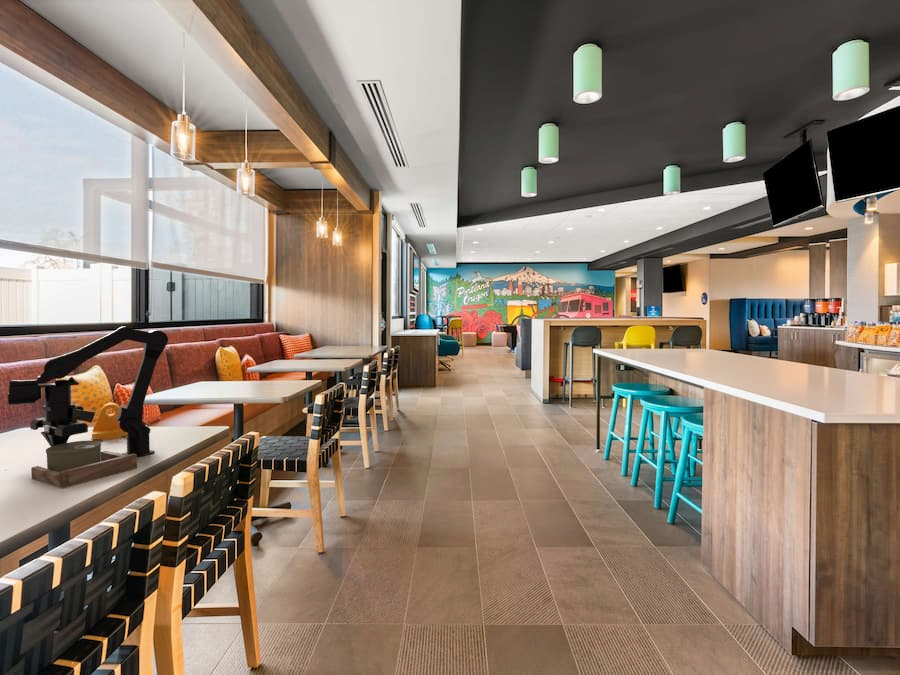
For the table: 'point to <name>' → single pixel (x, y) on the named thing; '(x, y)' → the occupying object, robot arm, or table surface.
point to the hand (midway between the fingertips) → (59, 455)
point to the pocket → (86, 470)
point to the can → (73, 455)
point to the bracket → (108, 424)
